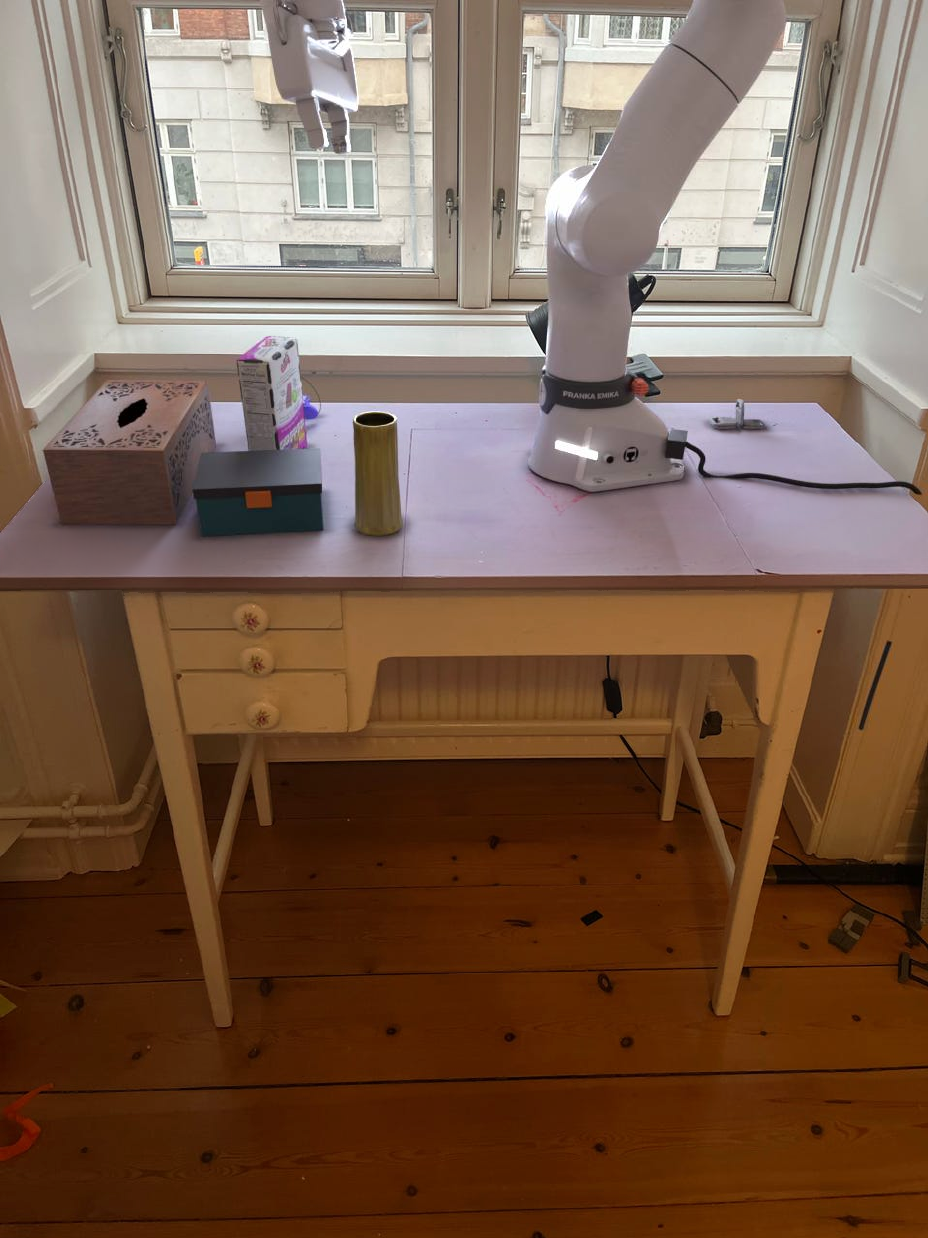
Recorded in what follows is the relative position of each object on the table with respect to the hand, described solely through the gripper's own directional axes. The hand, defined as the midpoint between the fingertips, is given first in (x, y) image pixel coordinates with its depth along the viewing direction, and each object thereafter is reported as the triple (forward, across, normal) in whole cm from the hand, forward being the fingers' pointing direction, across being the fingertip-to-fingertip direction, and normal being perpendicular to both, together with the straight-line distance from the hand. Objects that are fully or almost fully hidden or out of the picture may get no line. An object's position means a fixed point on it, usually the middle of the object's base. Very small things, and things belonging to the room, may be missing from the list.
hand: (331, 150), depth 107 cm
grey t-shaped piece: (+47, +40, -47) cm, 77 cm away
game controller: (+34, +26, +23) cm, 48 cm away
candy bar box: (+37, +12, +20) cm, 44 cm away
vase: (+44, -6, +2) cm, 44 cm away
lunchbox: (+40, -5, +17) cm, 44 cm away
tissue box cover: (+35, +1, +36) cm, 50 cm away
